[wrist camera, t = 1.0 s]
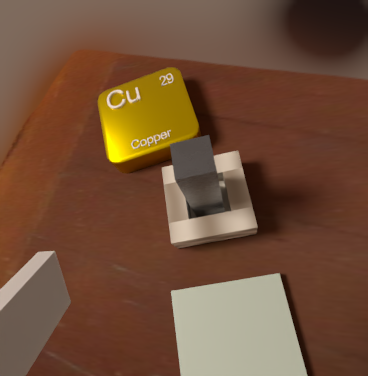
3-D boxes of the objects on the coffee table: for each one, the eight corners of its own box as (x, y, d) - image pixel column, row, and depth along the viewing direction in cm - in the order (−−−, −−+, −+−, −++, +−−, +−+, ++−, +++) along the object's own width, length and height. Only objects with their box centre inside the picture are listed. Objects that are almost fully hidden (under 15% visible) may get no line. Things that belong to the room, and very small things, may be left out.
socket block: (238, 163, 41) (238, 150, 38) (256, 233, 37) (257, 227, 33) (168, 178, 43) (161, 167, 39) (178, 248, 38) (171, 243, 35)
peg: (219, 186, 40) (209, 134, 27) (225, 212, 38) (216, 171, 25) (192, 192, 40) (169, 143, 27) (197, 218, 38) (174, 180, 26)
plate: (278, 273, 35) (279, 273, 34) (314, 407, 29) (317, 411, 28) (172, 291, 37) (170, 291, 36) (188, 420, 31) (186, 424, 30)
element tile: (119, 177, 45) (106, 165, 41) (106, 108, 51) (93, 91, 47) (205, 148, 44) (202, 132, 39) (182, 81, 50) (176, 60, 45)
